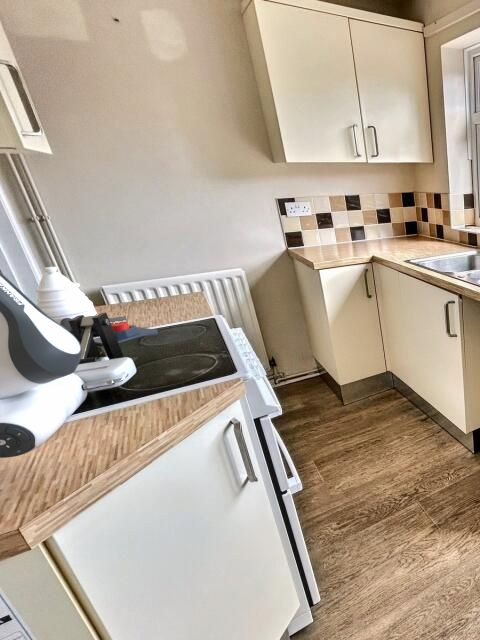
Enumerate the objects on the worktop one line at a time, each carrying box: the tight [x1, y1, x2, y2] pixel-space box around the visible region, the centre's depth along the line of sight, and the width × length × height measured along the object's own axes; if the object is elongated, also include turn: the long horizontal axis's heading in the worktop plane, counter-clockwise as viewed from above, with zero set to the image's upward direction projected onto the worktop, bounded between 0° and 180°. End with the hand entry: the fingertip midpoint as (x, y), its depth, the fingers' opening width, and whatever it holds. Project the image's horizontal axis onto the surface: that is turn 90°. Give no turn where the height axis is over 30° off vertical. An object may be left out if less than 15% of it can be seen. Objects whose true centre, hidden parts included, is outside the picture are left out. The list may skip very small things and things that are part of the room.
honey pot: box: [34, 266, 98, 324], centre depth 134 cm, size 13×13×18 cm
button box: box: [93, 324, 159, 346], centre depth 118 cm, size 12×9×4 cm
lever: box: [78, 315, 98, 365], centre depth 91 cm, size 13×6×2 cm, turn 24°
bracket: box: [69, 312, 139, 363], centre depth 96 cm, size 11×8×14 cm
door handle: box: [60, 315, 128, 337], centre depth 128 cm, size 3×20×16 cm
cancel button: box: [111, 321, 130, 332], centre depth 117 cm, size 4×4×2 cm
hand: (83, 363), depth 89 cm, fingers closed on lever, 5 cm apart
